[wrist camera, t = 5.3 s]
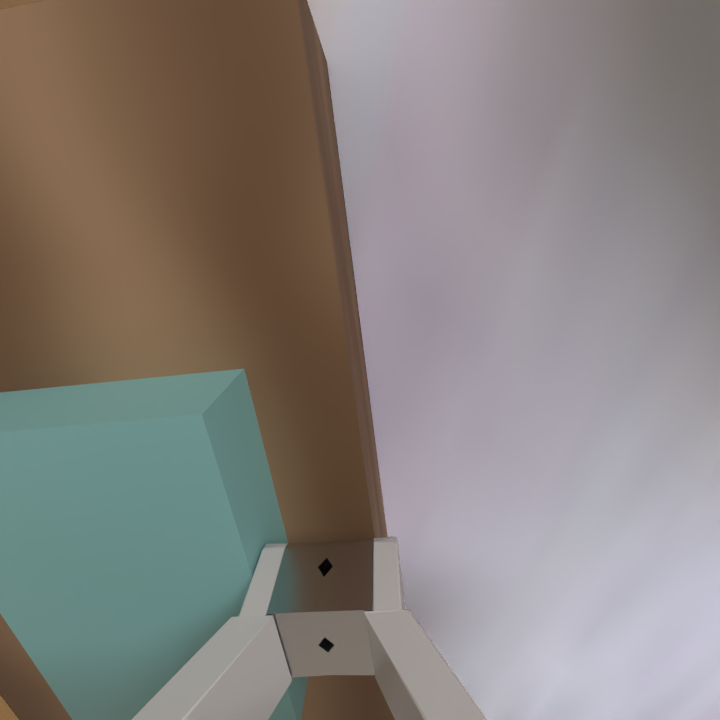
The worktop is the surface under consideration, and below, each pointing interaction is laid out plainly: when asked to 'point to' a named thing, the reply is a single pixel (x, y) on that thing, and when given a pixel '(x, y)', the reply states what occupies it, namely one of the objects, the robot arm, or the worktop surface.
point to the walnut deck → (188, 248)
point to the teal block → (131, 531)
